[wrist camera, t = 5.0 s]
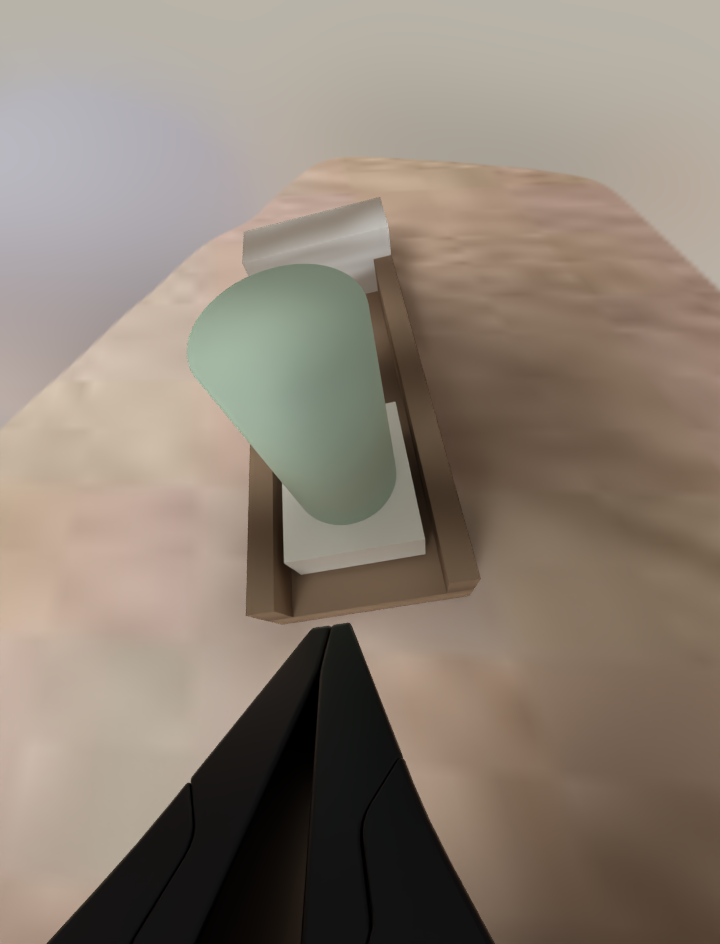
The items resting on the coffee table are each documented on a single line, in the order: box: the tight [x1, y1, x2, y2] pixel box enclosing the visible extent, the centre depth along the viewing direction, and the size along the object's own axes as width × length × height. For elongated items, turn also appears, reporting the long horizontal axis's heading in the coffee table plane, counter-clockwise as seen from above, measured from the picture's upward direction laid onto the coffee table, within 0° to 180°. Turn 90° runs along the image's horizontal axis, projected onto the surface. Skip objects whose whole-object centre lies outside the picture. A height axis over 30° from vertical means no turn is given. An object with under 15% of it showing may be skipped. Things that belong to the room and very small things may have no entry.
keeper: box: [187, 264, 425, 575], centre depth 12 cm, size 6×5×9 cm
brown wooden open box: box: [242, 197, 481, 624], centre depth 18 cm, size 21×8×5 cm, turn 7°
